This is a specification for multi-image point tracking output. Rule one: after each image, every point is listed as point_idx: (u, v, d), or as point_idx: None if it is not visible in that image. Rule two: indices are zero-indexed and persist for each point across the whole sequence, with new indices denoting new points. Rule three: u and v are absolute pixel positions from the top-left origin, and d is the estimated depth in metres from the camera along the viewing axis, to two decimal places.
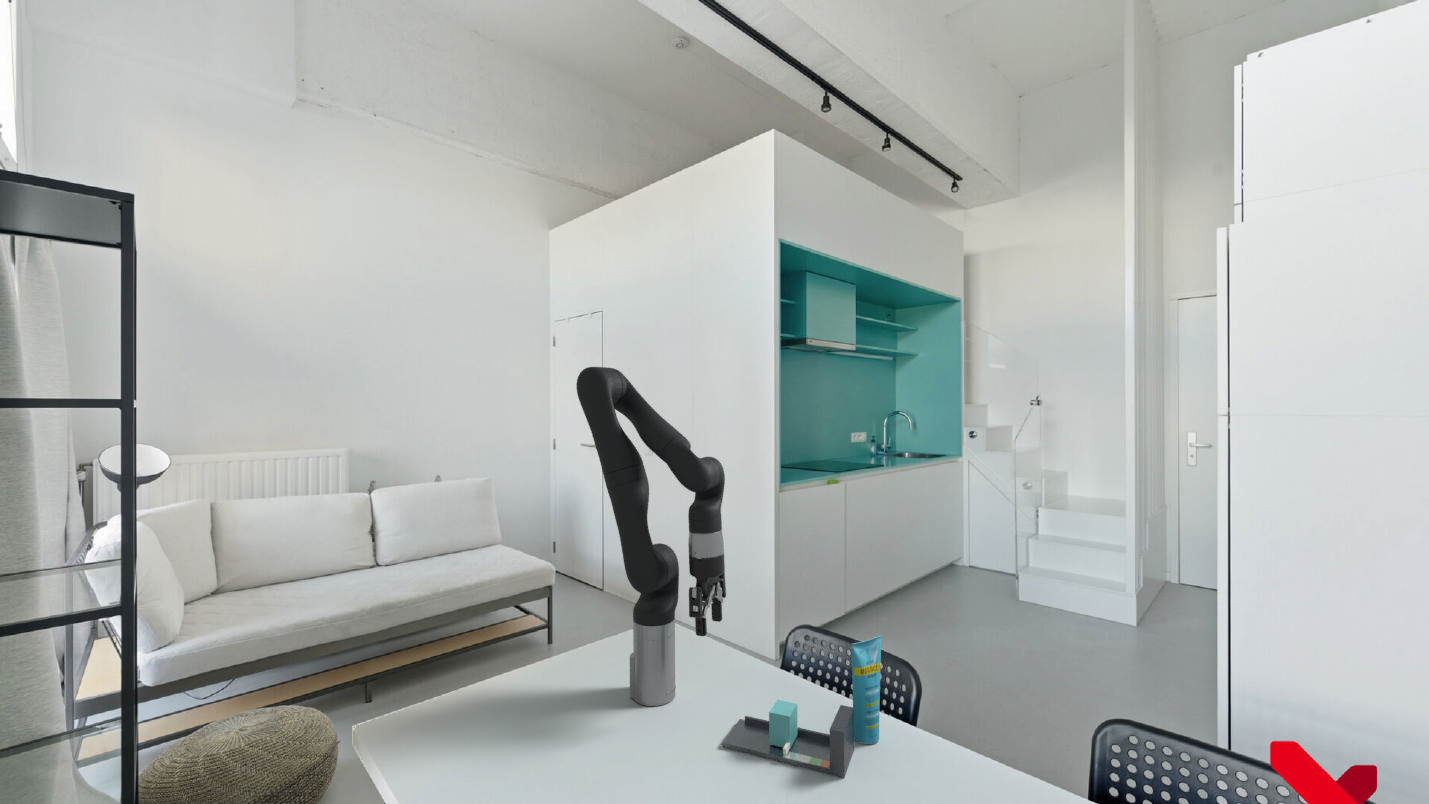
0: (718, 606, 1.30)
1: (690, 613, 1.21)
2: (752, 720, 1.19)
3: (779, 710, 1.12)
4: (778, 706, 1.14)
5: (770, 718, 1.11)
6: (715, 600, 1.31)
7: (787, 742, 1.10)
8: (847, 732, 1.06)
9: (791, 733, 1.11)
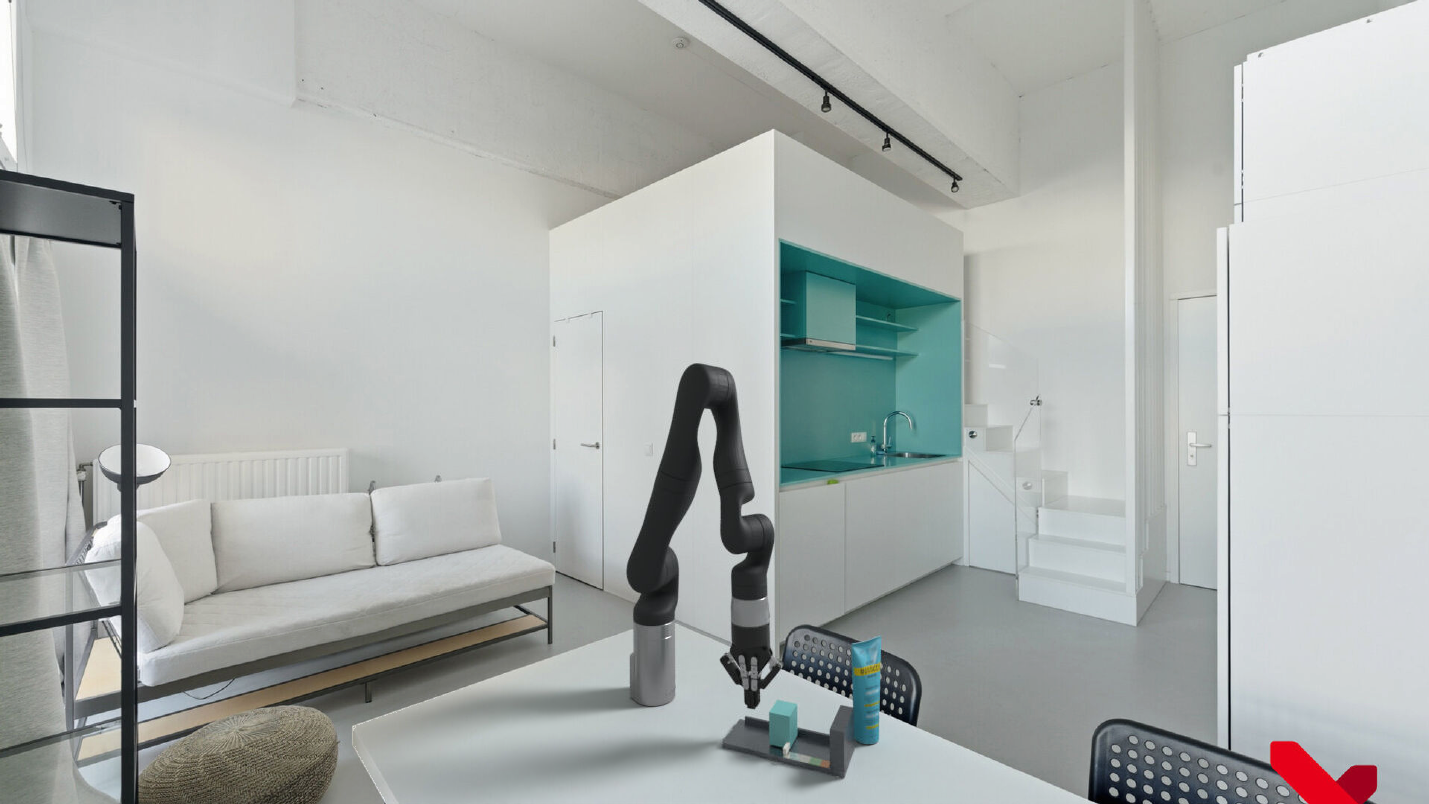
0: None
1: None
2: (752, 720, 1.19)
3: (779, 710, 1.12)
4: (778, 706, 1.14)
5: (770, 718, 1.11)
6: (750, 684, 1.16)
7: (787, 742, 1.10)
8: (847, 732, 1.06)
9: (791, 733, 1.11)
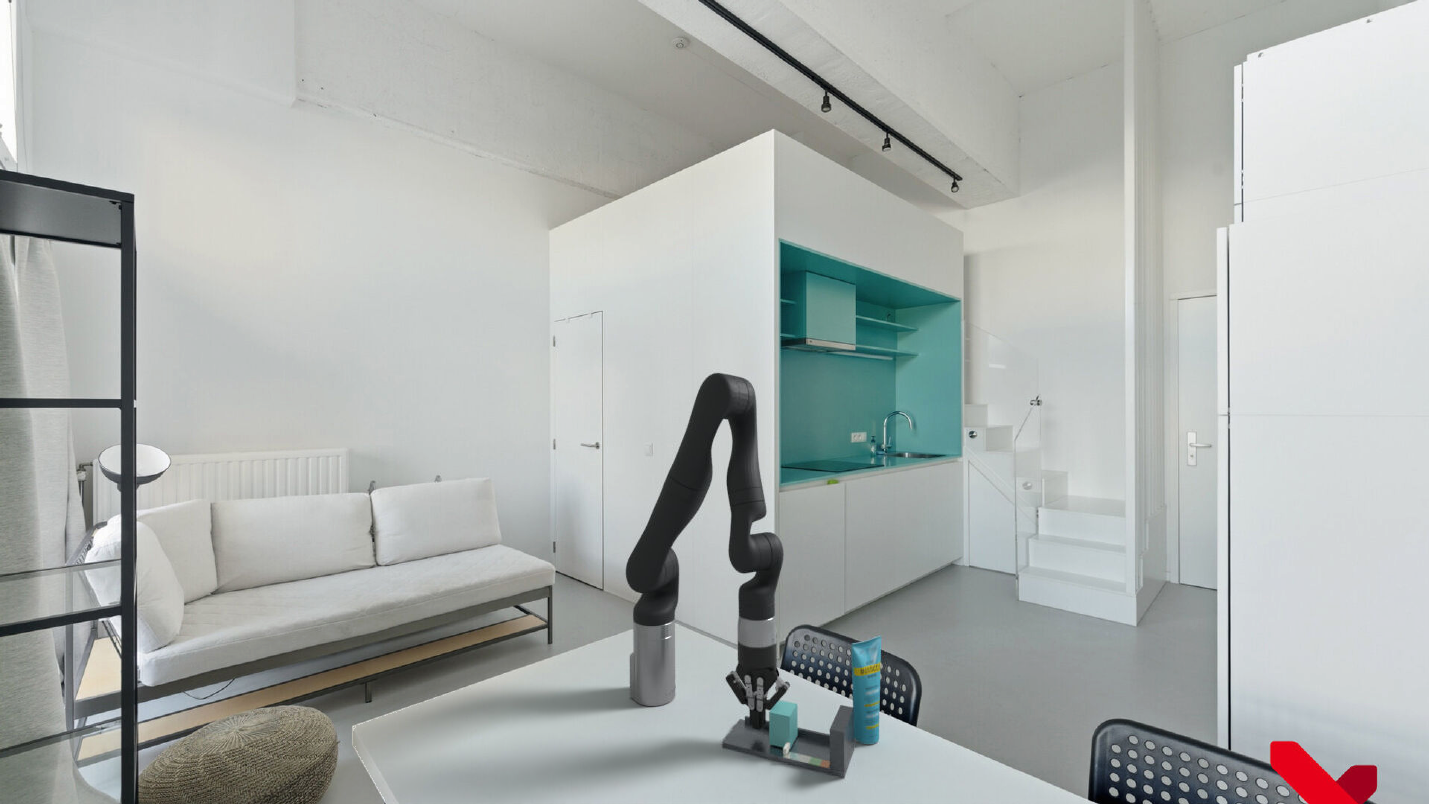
0: None
1: None
2: None
3: (779, 710, 1.12)
4: (778, 706, 1.14)
5: (770, 718, 1.11)
6: (756, 704, 1.15)
7: (787, 742, 1.10)
8: (847, 732, 1.06)
9: (792, 733, 1.11)
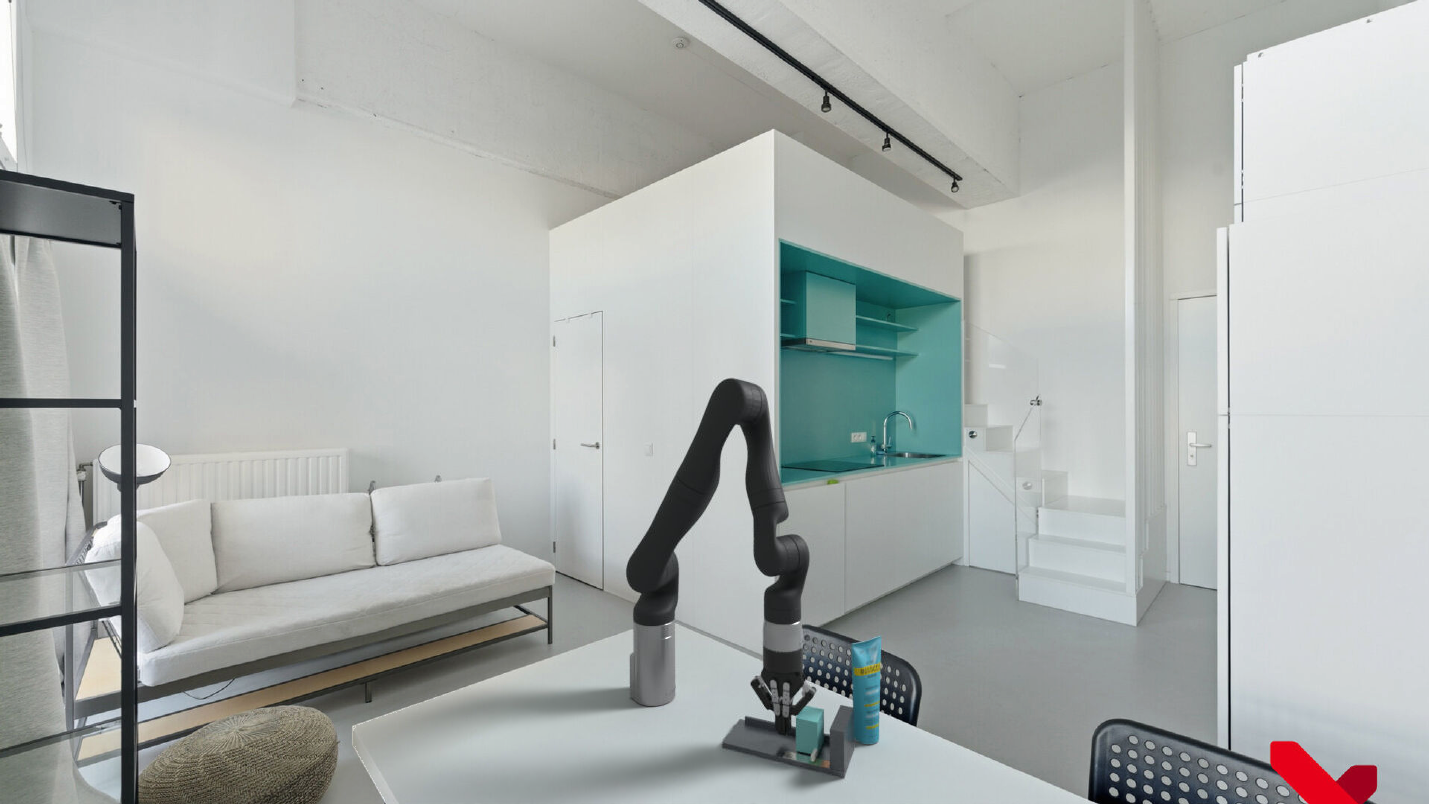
0: None
1: None
2: (752, 720, 1.19)
3: (805, 716, 1.10)
4: (804, 711, 1.12)
5: (797, 724, 1.09)
6: (781, 709, 1.13)
7: (815, 749, 1.08)
8: (847, 732, 1.06)
9: (819, 739, 1.09)
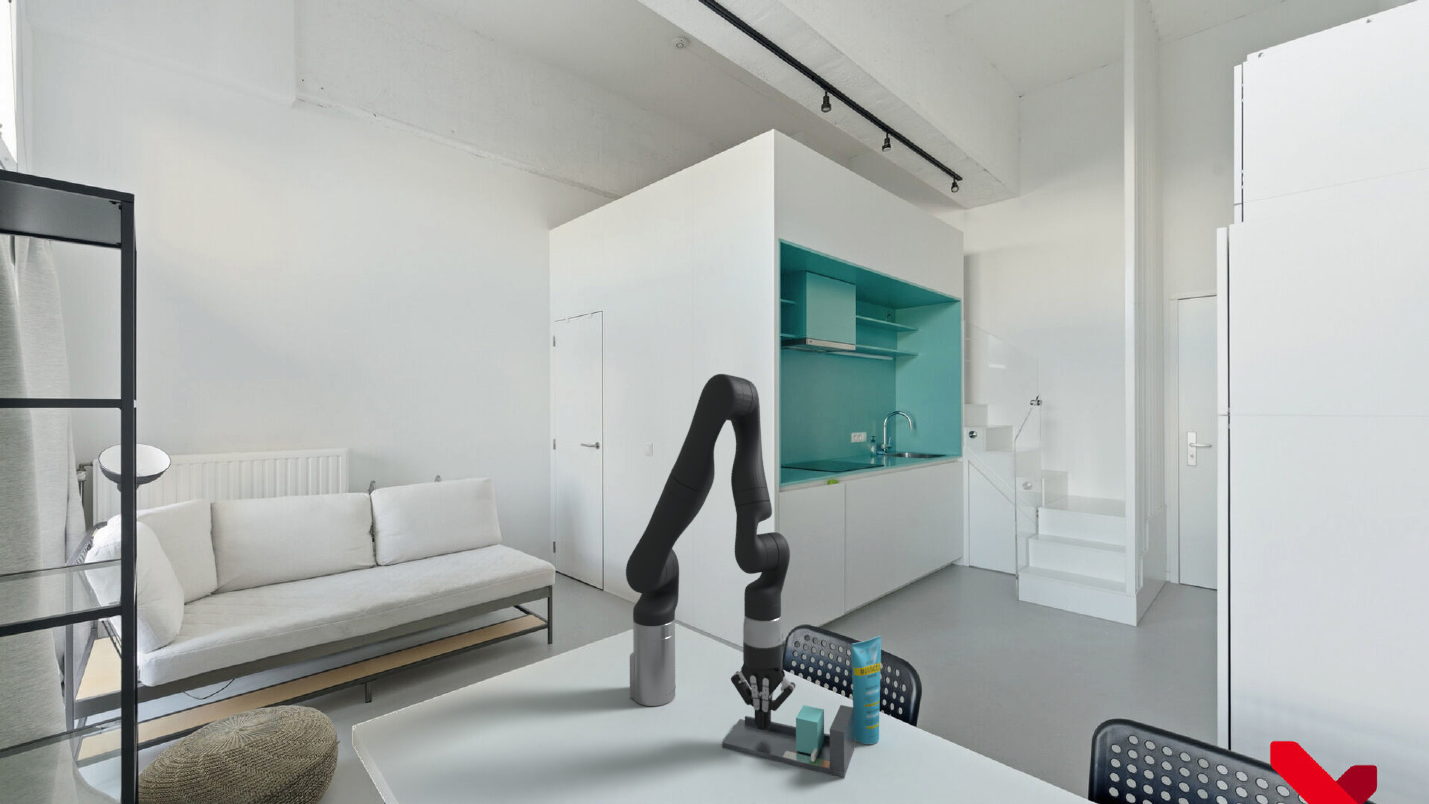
0: None
1: None
2: (752, 720, 1.19)
3: (806, 716, 1.10)
4: (804, 711, 1.12)
5: (797, 724, 1.09)
6: (761, 704, 1.15)
7: (815, 749, 1.08)
8: (847, 732, 1.06)
9: (819, 739, 1.09)
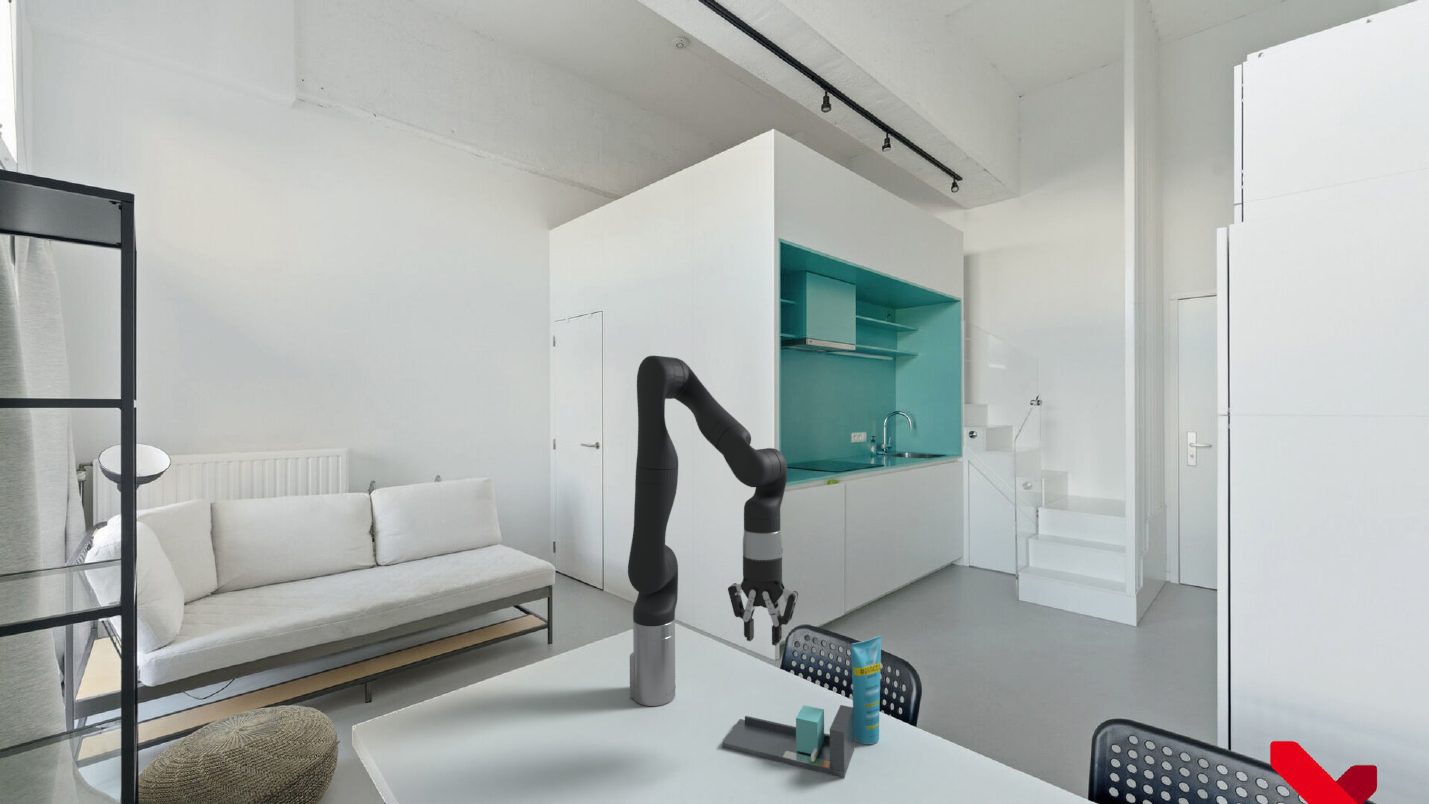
0: (752, 621, 1.16)
1: None
2: (752, 720, 1.19)
3: (806, 716, 1.10)
4: (804, 711, 1.12)
5: (797, 724, 1.09)
6: (750, 616, 1.15)
7: (815, 749, 1.08)
8: (847, 732, 1.06)
9: (819, 739, 1.09)
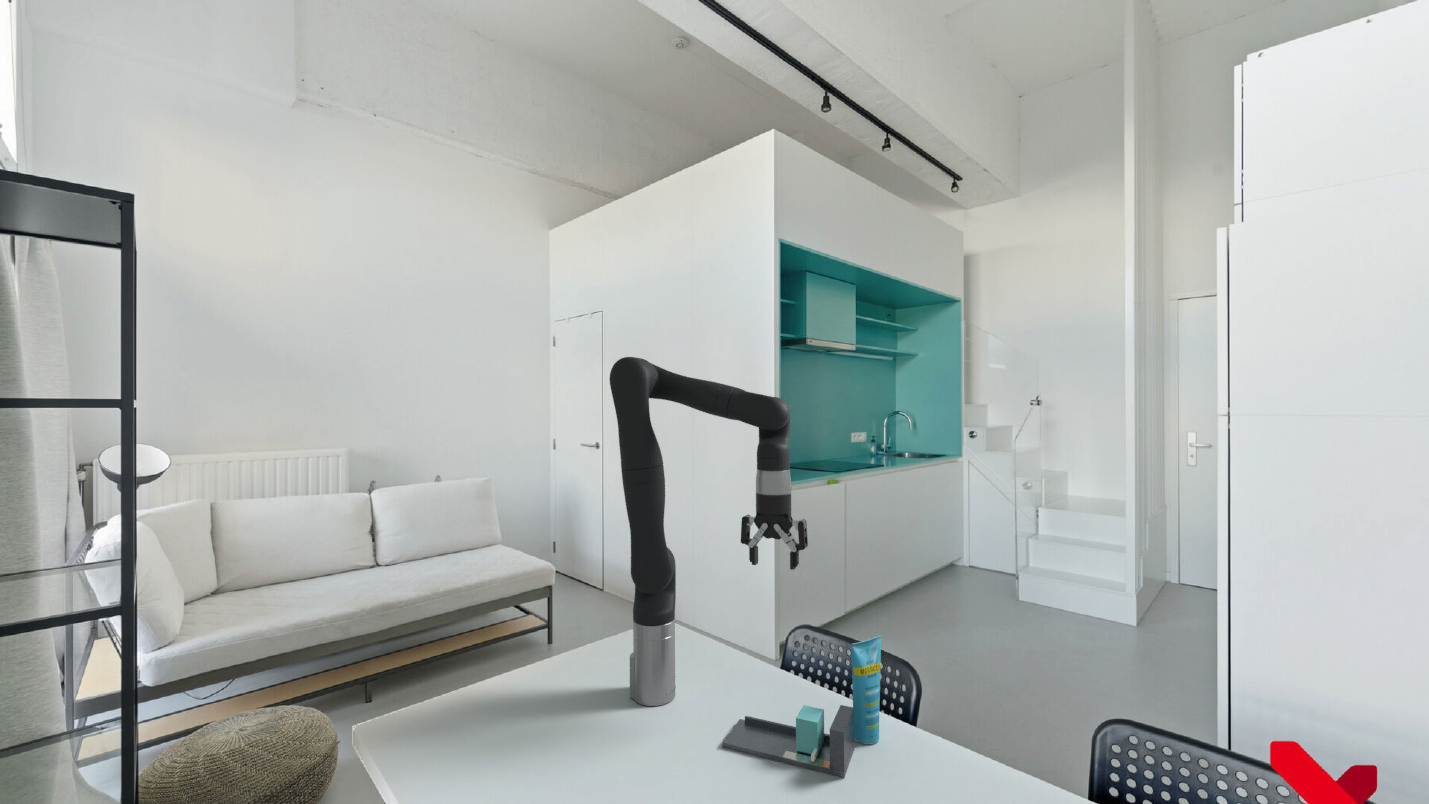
0: (757, 548, 1.29)
1: (804, 545, 1.23)
2: (752, 720, 1.19)
3: (806, 716, 1.10)
4: (804, 711, 1.12)
5: (797, 724, 1.09)
6: (755, 543, 1.29)
7: (815, 749, 1.08)
8: (847, 732, 1.06)
9: (819, 739, 1.09)
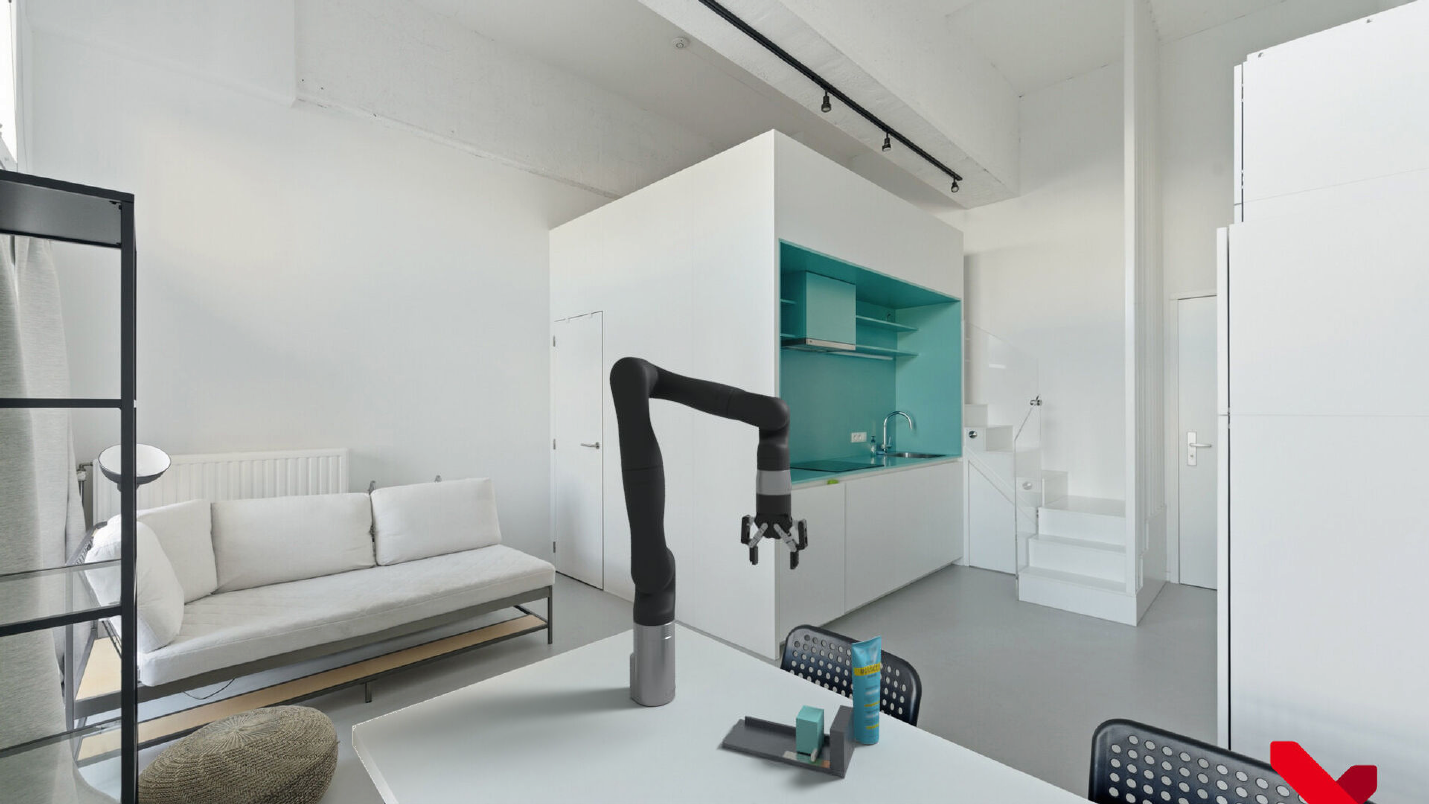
0: (757, 548, 1.29)
1: (804, 545, 1.23)
2: (752, 720, 1.19)
3: (806, 716, 1.10)
4: (804, 711, 1.12)
5: (797, 724, 1.09)
6: (755, 543, 1.29)
7: (815, 749, 1.08)
8: (847, 732, 1.06)
9: (819, 739, 1.09)
